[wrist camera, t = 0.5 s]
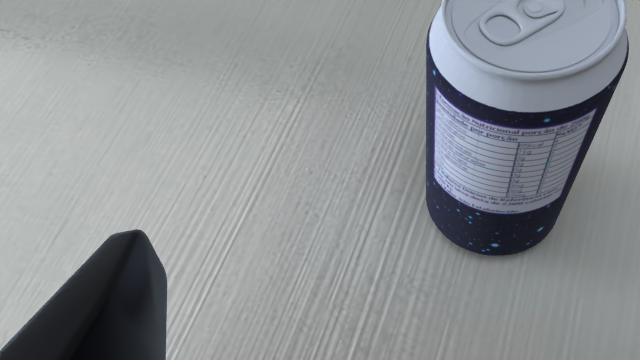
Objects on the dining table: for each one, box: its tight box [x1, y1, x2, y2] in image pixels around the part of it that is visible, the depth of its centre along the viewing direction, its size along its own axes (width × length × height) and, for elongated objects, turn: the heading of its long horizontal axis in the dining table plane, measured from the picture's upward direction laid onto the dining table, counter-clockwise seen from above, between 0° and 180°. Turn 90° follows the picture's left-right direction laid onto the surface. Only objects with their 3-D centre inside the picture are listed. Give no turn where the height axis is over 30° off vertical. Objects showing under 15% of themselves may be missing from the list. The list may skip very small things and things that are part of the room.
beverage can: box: [426, 0, 629, 256], centre depth 21 cm, size 6×6×12 cm
